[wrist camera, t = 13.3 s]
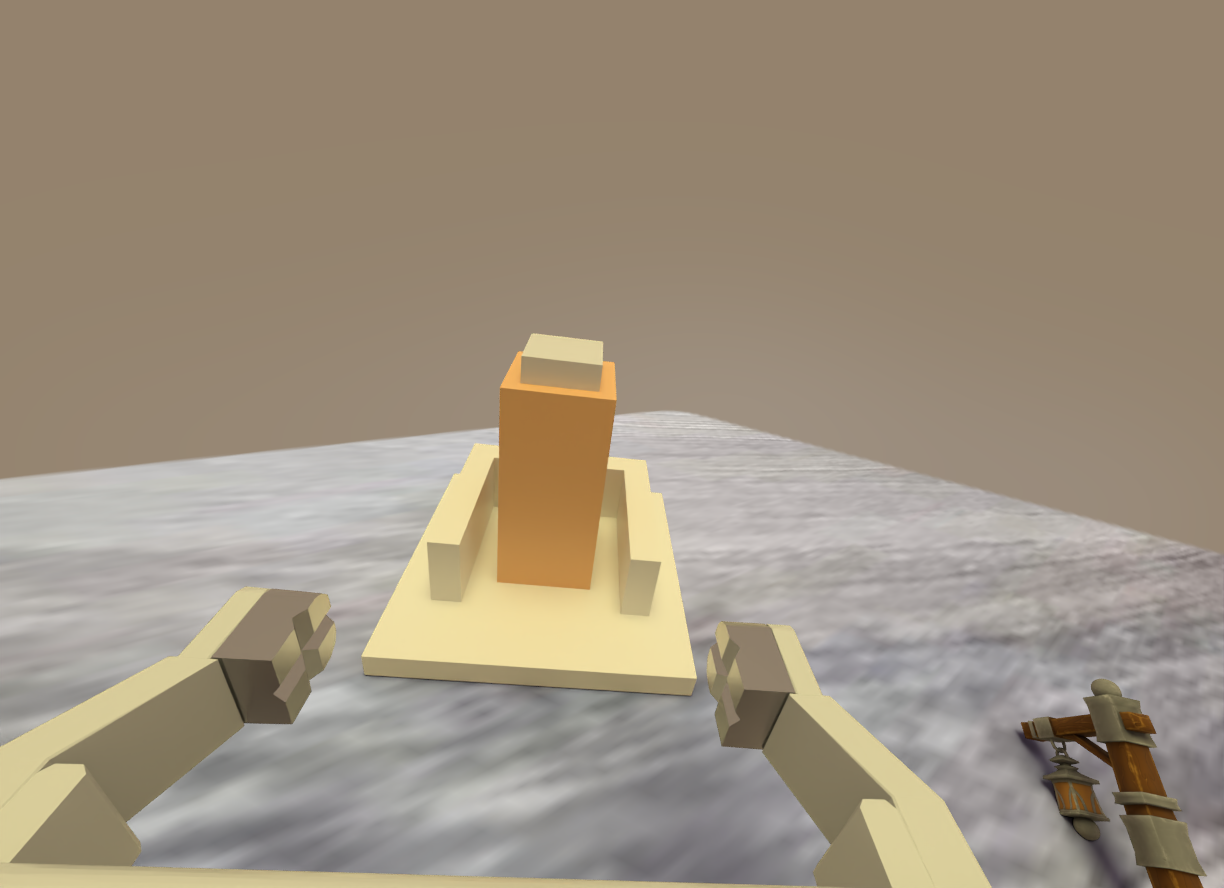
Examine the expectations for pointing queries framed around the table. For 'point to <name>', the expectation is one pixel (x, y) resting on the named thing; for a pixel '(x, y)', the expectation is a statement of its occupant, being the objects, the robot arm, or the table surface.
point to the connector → (553, 461)
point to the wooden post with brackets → (1121, 783)
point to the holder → (539, 599)
